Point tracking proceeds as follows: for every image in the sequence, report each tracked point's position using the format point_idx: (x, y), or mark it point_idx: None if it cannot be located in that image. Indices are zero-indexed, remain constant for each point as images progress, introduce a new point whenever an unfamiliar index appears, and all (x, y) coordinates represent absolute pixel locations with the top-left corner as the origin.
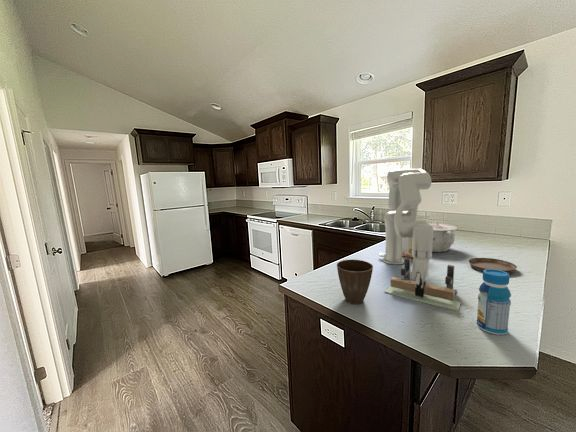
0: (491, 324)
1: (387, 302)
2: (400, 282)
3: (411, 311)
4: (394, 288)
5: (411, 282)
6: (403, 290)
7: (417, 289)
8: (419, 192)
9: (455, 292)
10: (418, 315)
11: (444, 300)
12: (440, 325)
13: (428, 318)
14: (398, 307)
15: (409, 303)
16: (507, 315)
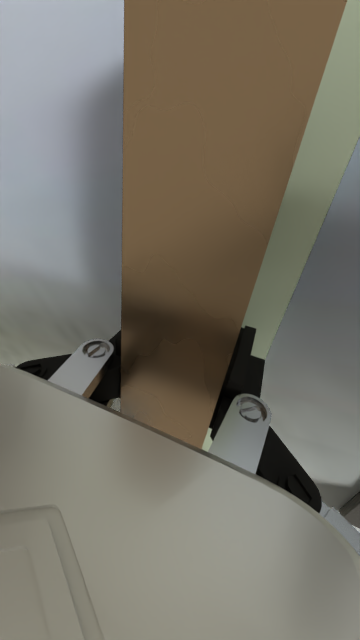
0: None
1: (4, 63)
2: (138, 132)
3: (18, 258)
4: (346, 17)
5: (161, 317)
6: (297, 177)
7: (112, 342)
8: None
9: (352, 523)
10: (10, 289)
11: (206, 434)
12: (8, 353)
13: (19, 325)
14: (4, 177)
15: (91, 246)
16: None
